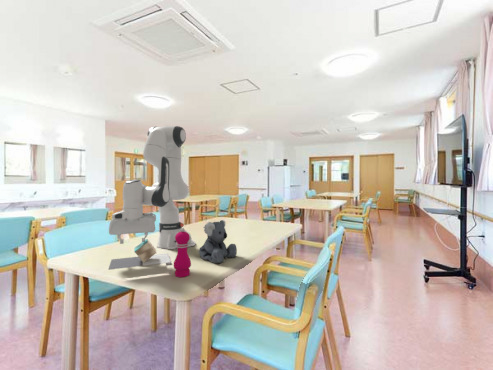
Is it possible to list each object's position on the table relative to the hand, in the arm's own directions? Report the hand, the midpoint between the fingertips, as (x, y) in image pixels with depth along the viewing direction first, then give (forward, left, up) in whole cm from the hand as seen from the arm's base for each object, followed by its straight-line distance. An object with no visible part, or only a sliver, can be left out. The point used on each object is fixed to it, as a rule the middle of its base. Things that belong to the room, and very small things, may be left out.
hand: (132, 242), depth 121 cm
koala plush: (-39, +5, -11) cm, 41 cm away
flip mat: (-4, 0, -10) cm, 11 cm away
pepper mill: (-20, +22, -10) cm, 32 cm away
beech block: (-4, 0, -2) cm, 4 cm away
